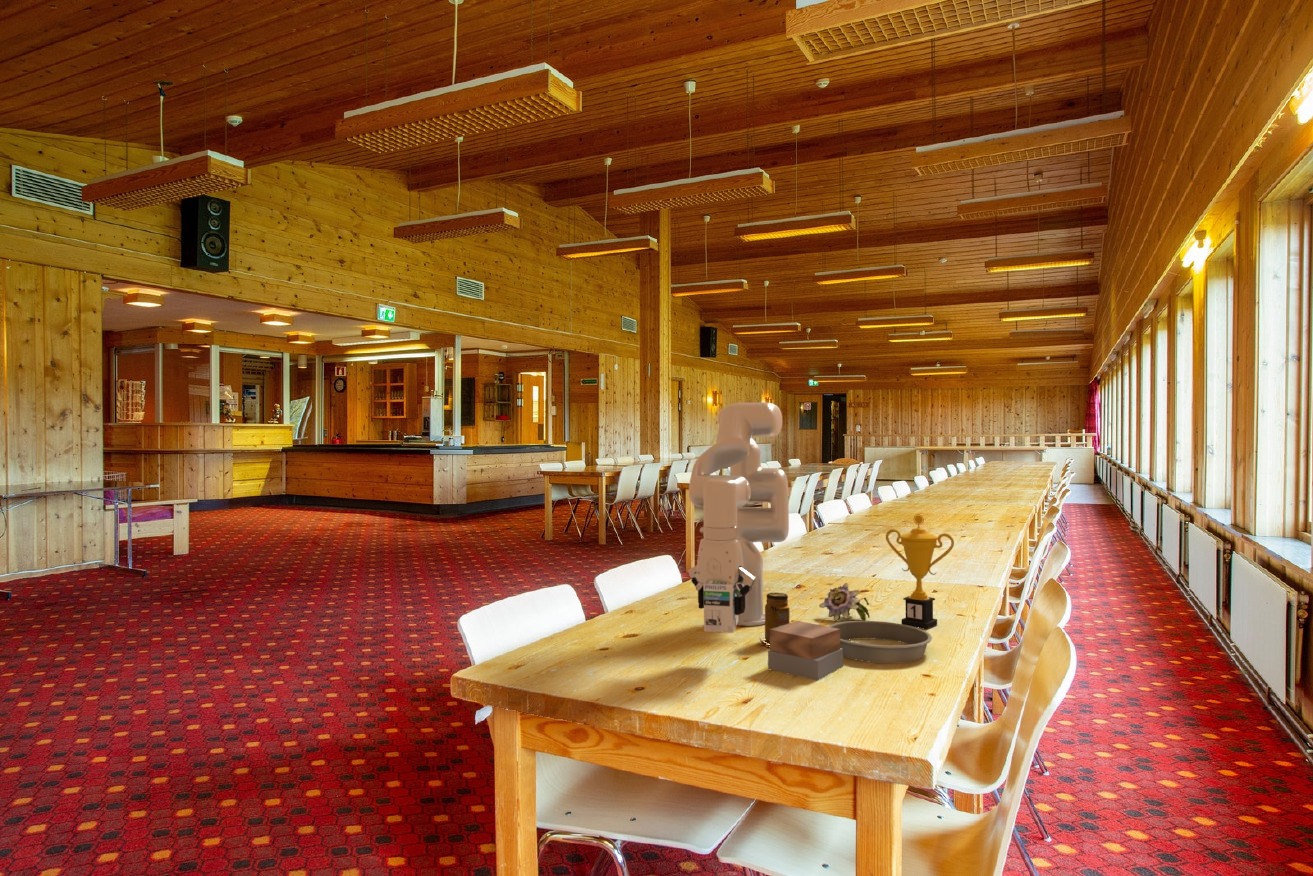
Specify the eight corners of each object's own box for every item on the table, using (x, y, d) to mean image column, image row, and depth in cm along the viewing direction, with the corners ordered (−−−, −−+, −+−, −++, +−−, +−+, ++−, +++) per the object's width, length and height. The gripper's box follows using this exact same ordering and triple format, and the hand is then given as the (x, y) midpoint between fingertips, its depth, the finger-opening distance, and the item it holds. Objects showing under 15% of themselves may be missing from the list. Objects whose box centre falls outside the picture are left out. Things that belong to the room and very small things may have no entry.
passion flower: (837, 640, 207) (811, 604, 210) (850, 625, 216) (825, 590, 218) (868, 623, 201) (841, 585, 203) (880, 608, 210) (854, 572, 212)
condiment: (788, 638, 189) (788, 591, 189) (795, 648, 181) (795, 598, 181) (759, 639, 189) (759, 591, 189) (765, 648, 180) (765, 598, 180)
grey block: (768, 671, 164) (768, 651, 164) (794, 659, 173) (794, 639, 173) (818, 682, 156) (818, 660, 156) (843, 668, 165) (842, 648, 165)
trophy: (877, 622, 205) (877, 513, 206) (894, 616, 212) (893, 510, 212) (946, 634, 192) (945, 518, 192) (962, 627, 199) (961, 515, 199)
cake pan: (955, 661, 170) (955, 641, 170) (860, 670, 163) (859, 650, 163) (891, 634, 194) (891, 617, 194) (806, 642, 187) (806, 624, 187)
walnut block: (769, 649, 164) (769, 629, 165) (798, 640, 172) (797, 620, 172) (812, 659, 157) (812, 638, 157) (840, 649, 165) (840, 629, 165)
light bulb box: (733, 633, 161) (733, 584, 161) (703, 632, 163) (702, 583, 163) (738, 620, 172) (738, 573, 172) (709, 619, 173) (709, 572, 173)
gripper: (679, 533, 169) (680, 608, 170) (745, 539, 159) (746, 620, 159) (698, 528, 175) (698, 601, 175) (762, 535, 164) (763, 612, 165)
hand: (721, 610), depth 167 cm, fingers closed on light bulb box, 9 cm apart
